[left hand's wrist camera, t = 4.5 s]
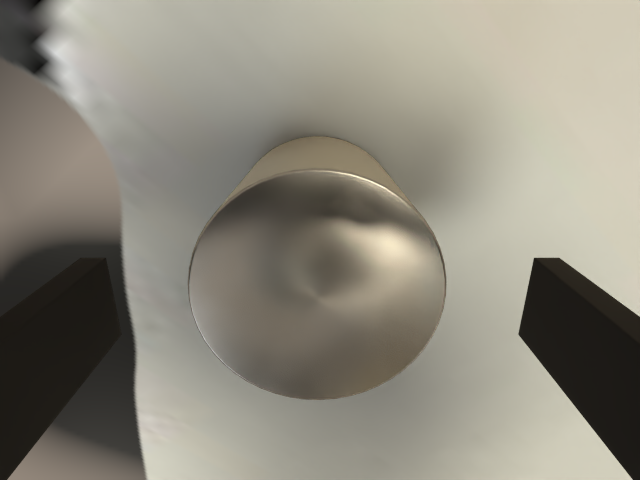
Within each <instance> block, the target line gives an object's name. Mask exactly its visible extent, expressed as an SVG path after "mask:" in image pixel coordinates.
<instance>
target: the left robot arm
mask: <svg viewBox="0 0 640 480" xmlns="http://www.w3.org/2000/svg"><path fill="white" fill-rule="evenodd" d="M120 336H121V329H120V325H119V320H118V315H117V310H116V305H115V300H114V295H113V290H112V286H111V281H110V276H109V271H108V266H107V261H106V258H80V259H79V260H77V261H76V262H75V263H73V264H72V265H70V266H69V267H68V268H66V269H65V270H64V271H62V272H61V273H60V274H58V275H57V276H55V277H54V278H53V279H51V280H50V281H49V282H47V283H46V284H45V285H43V286H42V287H40V288H39V289H38V290H36V291H35V292H34V293H32V294H31V295H30V296H28V297H27V298H25V299H24V300H23V301H21V302H20V303H19V304H17V305H16V306H15V307H13V308H12V309H10V310H9V311H8V312H6V313H5V314H4V315H2V316H1V317H0V480H7V479H8V478H9V477H10V475H11V474H12V473H13V471H14V470H15V469H16V468H17V466H18V465H19V464H20V463H21V461H22V460H23V459H24V458H25V456H26V455H27V454H28V452H29V451H30V450H31V449H32V447H33V446H34V445H35V443H36V442H37V441H38V440H39V438H40V437H41V436H42V435H43V433H44V432H45V431H46V430H47V428H48V427H49V426H50V424H51V423H52V422H53V421H54V419H55V418H56V417H57V416H58V414H59V413H60V412H61V411H62V409H63V408H64V407H65V405H66V404H67V403H68V402H69V400H70V399H71V398H72V397H73V395H74V394H75V393H76V391H77V390H78V389H79V388H80V386H81V385H82V384H83V383H84V381H85V380H86V379H87V378H88V376H89V375H90V374H91V372H92V371H93V370H94V369H95V367H96V366H97V365H98V364H99V362H100V361H101V360H102V358H103V357H104V356H105V355H106V353H107V352H108V351H109V350H110V348H111V347H112V346H113V345H114V343H115V342H116V341H117V339H118V338H119V337H120ZM519 336H520V337H521V338H522V340H523V341H524V342H525V343H526V345H527V346H528V347H529V348H530V350H531V351H532V352H533V353H534V355H535V356H536V357H537V359H538V360H539V361H540V362H541V364H542V365H543V366H544V367H545V369H546V370H547V371H548V372H549V374H550V375H551V376H552V378H553V379H554V380H555V381H556V383H557V384H558V385H559V386H560V388H561V389H562V390H563V392H564V393H565V394H566V395H567V397H568V398H569V399H570V400H571V402H572V403H573V404H574V405H575V407H576V408H577V409H578V411H579V412H580V413H581V414H582V416H583V417H584V418H585V419H586V421H587V422H588V423H589V425H590V426H591V427H592V428H593V430H594V431H595V432H596V433H597V435H598V436H599V437H600V438H601V440H602V441H603V442H604V444H605V445H606V446H607V447H608V449H609V450H610V451H611V452H612V454H613V455H614V456H615V458H616V459H617V460H618V461H619V463H620V464H621V465H622V466H623V468H624V469H625V470H626V471H627V473H628V474H629V475H630V477H631V478H632V479H633V480H640V317H639V316H638V315H636V314H635V313H634V312H632V311H631V310H630V309H628V308H627V307H625V306H624V305H623V304H621V303H620V302H619V301H617V300H616V299H615V298H613V297H612V296H610V295H609V294H608V293H606V292H605V291H604V290H602V289H601V288H600V287H598V286H597V285H595V284H594V283H593V282H591V281H590V280H589V279H587V278H586V277H585V276H583V275H582V274H580V273H579V272H578V271H576V270H575V269H574V268H572V267H571V266H570V265H568V264H567V263H565V262H564V261H563V260H561V259H560V258H534V261H533V266H532V271H531V276H530V281H529V285H528V290H527V295H526V300H525V305H524V310H523V315H522V320H521V324H520V329H519Z"/></svg>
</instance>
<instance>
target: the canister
mask: <svg viewBox="0 0 640 480" xmlns="http://www.w3.org/2000/svg"><path fill="white" fill-rule="evenodd" d="M188 291H189V301H190V305H191V310H192V314H193V317H194V319H195V322H196V325H197V327H198V329H199V331H200V333H201V335H202V337H203V339H204V340H205V342H206V343H207V345H208V346H209V348H210V349H211V350H212V352H213V353H214V354H215V355H216V356H217V357H218V358H219V359H220V360H221V362H222V363H223V364H224V365H226V366H227V367H228V368H229V369H230V370H232V371H233V372H234V373H235V374H237V375H238V376H240V377H241V378H243V379H244V380H246V381H248V382H249V383H251V384H253V385H255V386H257V387H259V388H262V389H264V390H267V391H270V392H272V393H275V394H279V395H283V396H287V397H292V398H299V399H311V400H324V399H336V398H342V397H347V396H352V395H355V394H359V393H362V392H365V391H368V390H370V389H372V388H375V387H377V386H379V385H381V384H383V383H385V382H387V381H388V380H390V379H392V378H393V377H395V376H396V375H397V374H399V373H400V372H402V371H403V370H404V369H405V368H406V367H408V366H409V365H410V364H411V363H412V362H413V361H414V360H415V359H416V358H417V357H418V356H419V354H420V353H421V352H422V351H423V350H424V348H425V347H426V345H427V344H428V342H429V341H430V339H431V338H432V336H433V334H434V332H435V330H436V328H437V326H438V324H439V321H440V318H441V315H442V311H443V308H444V302H445V296H446V272H445V264H444V260H443V256H442V253H441V249H440V246H439V244H438V242H437V240H436V237H435V235H434V233H433V231H432V230H431V228H430V227H429V225H428V224H427V222H426V220H425V219H424V218H423V217H422V215H421V214H420V213H419V212H418V210H417V209H416V208H415V207H414V206H413V204H412V203H411V202H410V201H409V199H408V198H407V197H406V196H405V195H404V193H403V192H402V191H401V190H400V188H399V187H398V186H397V185H396V183H395V182H394V181H393V180H392V179H391V177H390V176H389V175H388V174H387V172H386V171H385V170H384V169H383V168H382V166H381V165H380V164H379V163H378V162H377V161H376V160H375V159H374V158H373V157H372V156H371V155H370V154H369V153H367V152H366V151H364V150H363V149H361V148H360V147H358V146H356V145H354V144H352V143H350V142H347V141H344V140H341V139H337V138H332V137H324V136H311V137H303V138H298V139H294V140H291V141H289V142H286V143H283V144H281V145H279V146H278V147H276V148H274V149H272V150H271V151H270V152H268V153H267V154H266V155H264V156H263V157H262V158H261V159H260V160H259V161H258V162H257V163H256V164H255V165H254V167H253V168H252V169H251V170H250V171H249V173H248V174H247V175H246V176H245V177H244V179H243V180H242V181H241V182H240V183H239V185H238V186H237V187H236V188H235V189H234V191H233V192H232V193H231V194H230V195H229V197H228V198H227V199H226V200H225V201H224V203H223V204H222V205H221V206H220V207H219V209H218V210H217V211H216V212H215V214H214V215H213V216H212V217H211V219H210V220H209V221H208V222H207V224H206V225H205V227H204V229H203V231H202V232H201V234H200V236H199V238H198V240H197V243H196V245H195V248H194V250H193V253H192V258H191V262H190V266H189V276H188Z"/></svg>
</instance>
